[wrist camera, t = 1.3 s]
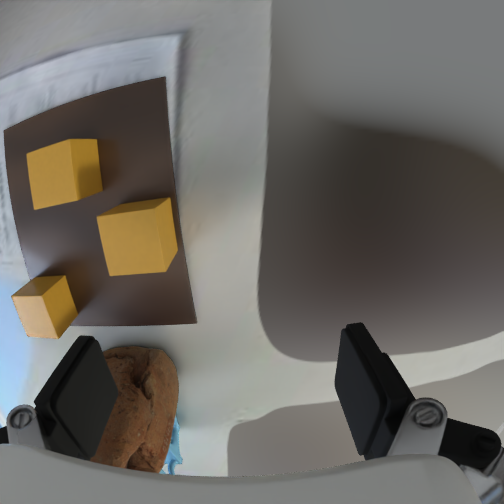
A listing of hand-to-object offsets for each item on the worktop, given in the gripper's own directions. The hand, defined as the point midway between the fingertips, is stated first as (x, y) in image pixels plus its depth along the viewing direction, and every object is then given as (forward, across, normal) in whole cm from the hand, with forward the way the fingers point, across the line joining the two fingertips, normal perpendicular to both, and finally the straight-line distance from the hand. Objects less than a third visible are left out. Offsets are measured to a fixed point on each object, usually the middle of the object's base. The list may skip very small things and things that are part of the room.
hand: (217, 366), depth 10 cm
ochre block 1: (+17, +14, -8) cm, 23 cm away
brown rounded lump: (+18, +13, +15) cm, 27 cm away
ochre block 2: (+17, +21, +5) cm, 28 cm away
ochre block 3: (+17, +8, -1) cm, 19 cm away
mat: (+18, +14, -3) cm, 23 cm away
